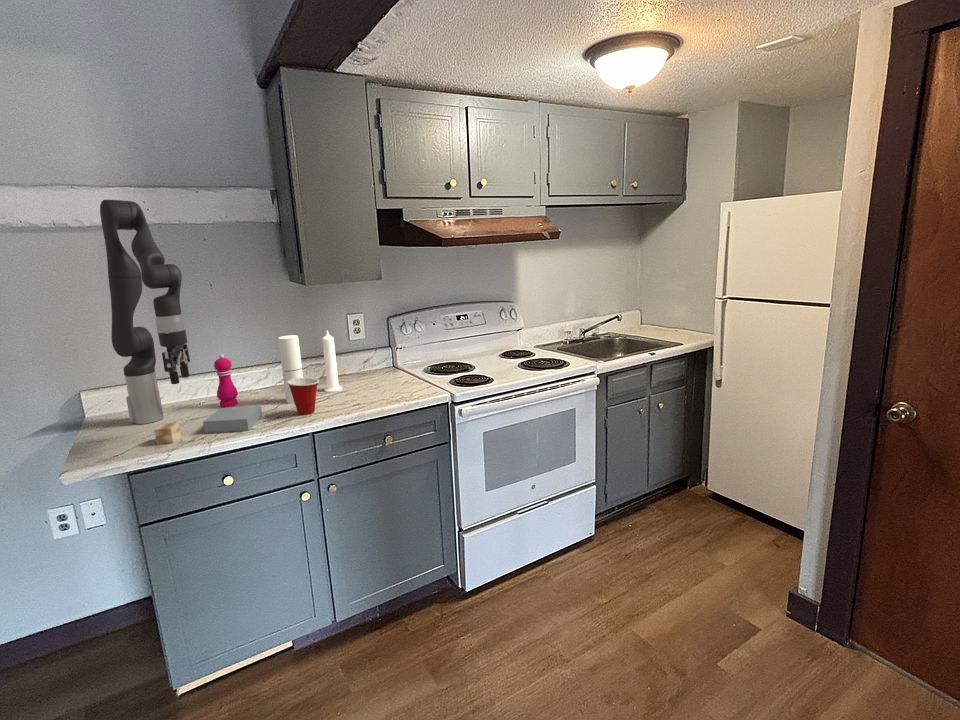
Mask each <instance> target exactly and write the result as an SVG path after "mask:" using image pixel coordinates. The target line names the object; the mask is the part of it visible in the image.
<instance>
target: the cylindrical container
mask: <svg viewBox="0 0 960 720" xmlns="http://www.w3.org/2000/svg"><path fill="white" fill-rule="evenodd" d="M277 338H278V339H277V340H278V347H279V354H280V355H279V356H280V362H281V370H282V377H283V385H284V392H285V401H286V403H288V404H295V403H294V400H293V396H292V393H291V390H290V387H289V384H288V383H287V381H289V380H292V379H297V378H304V372H303V368H302V367H303V365H302V356H301V348H300V340H299V336H298V334H297V335H296V334H295V335H293V334H292V335H289V334H288V335H282V336H279V337H277Z"/></svg>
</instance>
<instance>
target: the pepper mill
mask: <svg viewBox="0 0 960 720" xmlns="http://www.w3.org/2000/svg"><path fill="white" fill-rule="evenodd" d="M218 357H219V358H217V359H216V360H215V361H214V362H213V363H214V364H213V367H214V369H215V370H216V375H217V377H218V381H219V382H218V386H217V387H218V388H217V391H216V397H217V398H218V400H220V401H219V407H220V408H233V407H235V406H237V405H238V404H239V402H238V399H237V397H238V394H239V393H238V389H237V387H236V386H235V384H234V383H233V381H232V370H231V368H232V366H233V363H232V361H231V360H230V359H229V358H227V357H225V355H224V354H223V353H221V354H219V355H218Z"/></svg>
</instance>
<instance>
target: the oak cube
mask: <svg viewBox="0 0 960 720" xmlns="http://www.w3.org/2000/svg"><path fill="white" fill-rule="evenodd" d="M153 430H154V435H155V437H154V438H155V441H156V445H168V444H174V443H176V442H177V441H178V440H179V439H181V438H182V437H181V430H180V424H179V422H170V423H162V424H160V425H158V426H157V427H156V428H154V429H153Z"/></svg>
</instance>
